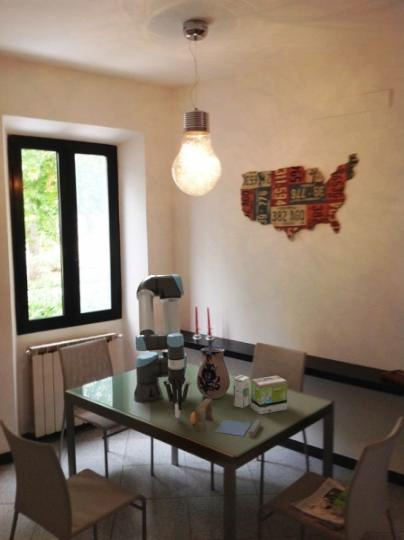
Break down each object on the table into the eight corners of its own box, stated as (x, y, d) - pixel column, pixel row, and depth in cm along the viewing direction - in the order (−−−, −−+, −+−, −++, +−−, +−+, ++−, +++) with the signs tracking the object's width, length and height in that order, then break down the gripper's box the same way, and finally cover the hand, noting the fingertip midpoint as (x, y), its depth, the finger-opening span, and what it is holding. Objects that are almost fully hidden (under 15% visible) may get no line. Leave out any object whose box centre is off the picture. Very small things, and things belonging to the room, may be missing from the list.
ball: (201, 424, 220) (191, 426, 222) (206, 419, 225) (195, 422, 227) (197, 412, 220) (186, 415, 222) (201, 408, 225) (191, 411, 227)
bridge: (195, 430, 217) (194, 410, 216) (206, 417, 230) (206, 398, 229) (201, 431, 216) (200, 411, 215) (212, 418, 229) (212, 399, 228)
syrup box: (240, 402, 248) (239, 374, 246) (249, 405, 244) (249, 376, 242) (233, 405, 243) (232, 377, 242) (243, 408, 239) (242, 380, 238)
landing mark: (214, 432, 214) (214, 431, 214) (224, 420, 226) (224, 419, 226) (243, 436, 210) (243, 435, 210) (251, 424, 222) (251, 423, 222)
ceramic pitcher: (193, 400, 252) (191, 353, 249) (203, 386, 272) (202, 342, 269) (226, 403, 247) (225, 355, 244) (234, 388, 267) (233, 344, 264)
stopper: (249, 436, 209) (249, 431, 209) (256, 425, 220) (256, 419, 220) (253, 437, 208) (253, 431, 208) (260, 425, 220) (260, 420, 219)
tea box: (261, 415, 231) (260, 385, 229) (250, 408, 240) (250, 379, 238) (288, 409, 237) (287, 380, 235) (276, 402, 246) (276, 374, 244)
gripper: (160, 368, 224) (161, 417, 227) (186, 371, 219) (187, 421, 222) (167, 363, 231) (168, 411, 233) (192, 366, 226) (194, 415, 229)
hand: (178, 416), depth 228 cm, fingers closed
